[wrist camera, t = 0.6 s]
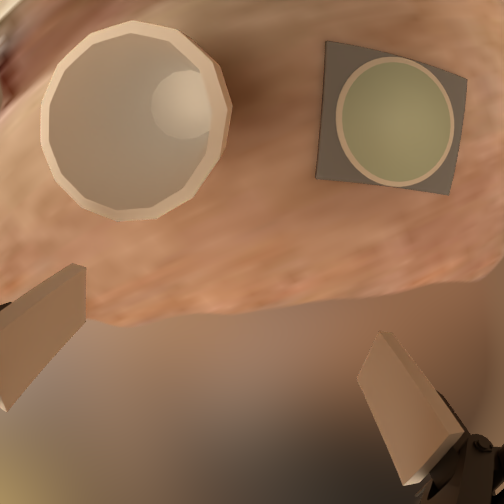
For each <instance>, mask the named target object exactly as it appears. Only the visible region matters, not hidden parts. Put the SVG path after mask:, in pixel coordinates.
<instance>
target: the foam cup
mask: <svg viewBox="0 0 504 504" xmlns="http://www.w3.org/2000/svg"><path fill="white" fill-rule="evenodd" d="M232 108H233V105H232V102H231V99H230V96H229V92H228V89H227V86H226V83H225V80H224V77H223V73H222V70H221V67H220V65H219V64H218V63H217V62H216V61H215V60H213V59H212V58H211V57H210V56H209V55H208V54H207V53H206V52H205V51H204V50H203V49H202V48H201V47H200V46H199V45H198V44H196V43H195V42H194V41H193V40H192V39H191V38H190V37H188V36H187V35H185V34H184V33H182V32H181V31H179V30H177V29H173V28H169V27H165V26H160V25H155V24H150V23H145V22H140V21H134V20H132V21H128V22H125V23H121V24H118V25H115V26H111V27H108V28H105V29H102V30H99V31H96V32H93V33H91V34H89V35H88V36H87V37H86V38H85V39H83V40H82V41H81V42H80V43H79V44H78V45H77V46H76V47H75V48H74V49H73V50H72V51H70V52H69V53H68V54H67V55H66V56H65V57H64V58H63V59H62V60H61V61H60V62H59V63H58V65H57V67H56V69H55V71H54V74H53V76H52V78H51V80H50V83H49V85H48V87H47V90H46V92H45V95H44V97H43V100H42V102H41V124H40V141H41V147H42V149H43V152H44V155H45V157H46V160H47V162H48V165H49V167H50V170H51V172H52V175H53V177H54V180H55V181H56V182H57V183H58V184H59V185H60V186H61V187H62V188H63V189H64V191H65V192H66V193H67V194H68V195H69V196H70V197H71V198H72V199H73V200H74V201H75V202H76V203H77V204H78V205H79V206H80V207H81V208H83V209H86V210H88V211H91V212H93V213H96V214H99V215H101V216H104V217H106V218H109V219H111V220H114V221H116V222H120V221H134V220H148V219H157V218H159V217H160V216H162V215H164V214H166V213H167V212H169V211H171V210H172V209H174V208H176V207H178V206H179V205H181V204H183V203H185V202H186V201H188V200H190V199H192V198H193V197H194V196H195V194H196V193H197V191H198V190H199V188H200V187H201V185H202V184H203V182H204V181H205V179H206V178H207V176H208V175H209V173H210V172H211V171H212V169H213V168H214V166H215V165H216V163H217V162H218V161H219V159H220V157H221V156H222V154H223V152H224V150H225V149H226V144H227V138H228V132H229V126H230V120H231V114H232Z"/></svg>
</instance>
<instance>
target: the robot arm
mask: <svg viewBox="0 0 504 504" xmlns="http://www.w3.org/2000/svg"><path fill="white" fill-rule="evenodd" d="M85 322H86V267H84V266H80V265H77V264H73V263H72V264H70V265H69V266H67V267H65V268H64V269H62V270H61V271H59V272H57V273H56V274H54V275H53V276H51V277H50V278H48V279H47V280H45V281H44V282H42V283H40V284H39V285H37V286H36V287H34V288H33V289H31V290H30V291H28V292H27V293H26V294H24V295H23V296H21V297H20V298H18V299H17V300H15V301H14V302H9V303H6V304H3V305H0V408H1V409H2V410H4V411H5V412H8V411H9V409H10V408H11V407H12V405H13V404H14V403H15V402H16V401H17V399H18V398H19V397H20V396H21V394H22V393H23V392H24V391H25V390H26V389H27V387H28V386H29V385H30V384H31V383H32V381H33V380H34V379H35V378H36V377H37V375H38V374H39V373H40V372H41V371H42V370H43V368H44V367H45V366H46V365H47V364H48V363H49V361H50V360H51V359H52V358H53V357H54V356H55V355H56V354H57V353H58V352H59V350H60V349H61V348H62V347H63V346H64V345H65V343H66V342H68V340H69V339H70V338H71V337H72V336H73V335H74V334H75V333H76V332H77V331H78V330H79V329H80V327H81V326H82V325H83V324H84V323H85ZM357 381H358V383H359V385H360V387H361V389H362V392H363V394H364V396H365V398H366V400H367V402H368V405H369V407H370V409H371V412H372V414H373V416H374V418H375V421H376V423H377V425H378V427H379V430H380V432H381V434H382V437H383V439H384V441H385V443H386V446H387V448H388V450H389V453H390V455H391V458H392V460H393V462H394V465H395V467H396V469H397V472H398V474H399V477H400V479H401V482H402V484H403V486H405V485H410V484H414V483H419V482H420V481H421V480H422V479H423V478H424V477H425V476H426V475H427V474H428V473H430V475H431V477H432V479H431V480H430V481H429V482H428V483H427V484H426V485H425V486H424V487H423V488H421V490H419V491H418V492H417V493H416V495H415V497H418V496H419V495H420V494H421V493H422V492H424V493H423V496H422V497H421V501H420V504H504V489H503V490H502V491H501V492H500V493H499V494H497V495H496V494H495V490H496V489H497V488H498V487H499V486H500V485H501V484H502V483H503V482H504V444H503V446H502V447H493V445H492V443H491V442H490V441H489V440H488V439H487V438H486V437H484V436H482V435H479V434H472V435H470V433H469V432H468V430H467V429H466V427H465V426H464V424H463V423H462V421H461V420H460V419H459V417H458V416H457V414H456V413H454V410H453V409H452V407H451V406H449V405H450V404H449V403H448V402H447V400H446V399H445V398H444V396H443V395H441V394H440V393H439V392H438V391H437V390H435V389H434V387H433V386H432V385H431V383H430V382H429V380H428V379H427V378H426V377H425V375H424V374H423V372H422V371H421V370H420V368H419V367H418V366H417V365H416V363H415V362H414V360H413V359H412V358H411V356H410V355H409V354H408V353H407V351H406V350H405V348H404V347H403V346H402V345H401V343H400V342H399V341H398V339H397V338H396V337H395V336H394V334H393V333H391V332H384V331H378V334H377V336H376V338H375V341H374V343H373V345H372V347H371V349H370V351H369V353H368V356H367V358H366V360H365V362H364V364H363V366H362V368H361V370H360V372H359V374H358V376H357Z"/></svg>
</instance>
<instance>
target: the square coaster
mask: <svg viewBox="0 0 504 504" xmlns="http://www.w3.org/2000/svg"><path fill="white" fill-rule="evenodd" d="M466 92H467V79H465V78H463V77H460V76H458V75H455V74H453V73H450V72H447V71H445V70H442V69H439V68H436V67H433V66H430V65H427V64H424V63H421V62H418V61H415V60H411V59H408V58H404V57H401V56H397V55H394V54H390V53H386V52H382V51H377V50H373V49H369V48H364V47H359V46H354V45H349V44H343V43H337V42H331V41H326V43H325V64H324V81H323V95H322V109H321V121H320V133H319V144H318V154H317V164H316V173H315V178H316V179H322V180H334V181H344V182H354V183H363V184H372V185H380V186H388V187H396V188H403V189H411V190H417V191H424V192H430V193H437V194H443V195H449V193H450V189H451V185H452V181H453V176H454V171H455V167H456V162H457V157H458V151H459V145H460V140H461V133H462V126H463V119H464V111H465V102H466Z"/></svg>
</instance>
